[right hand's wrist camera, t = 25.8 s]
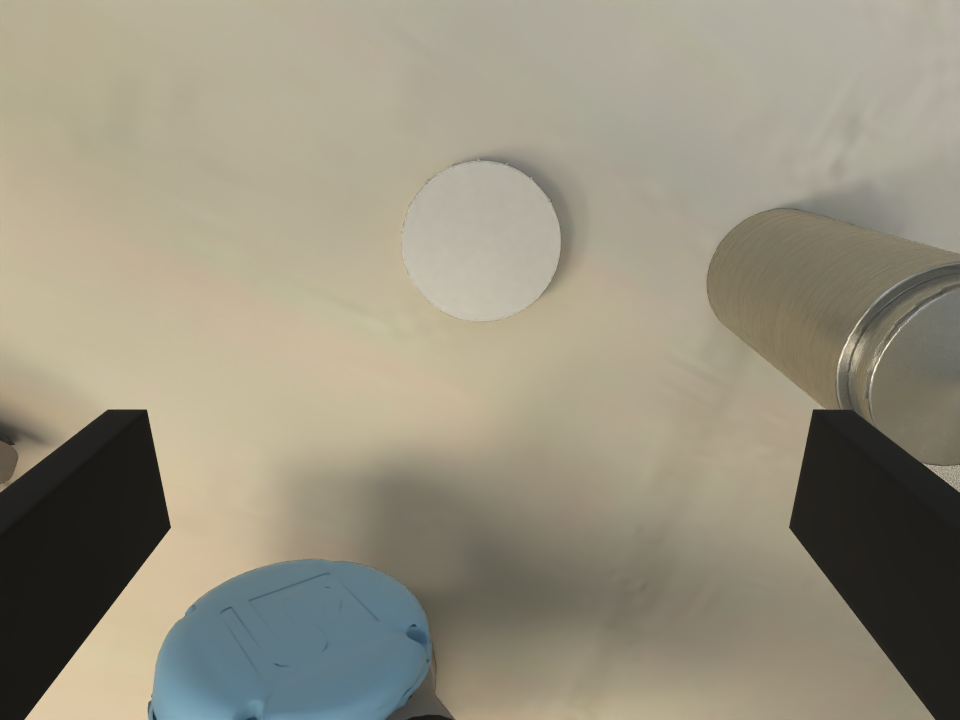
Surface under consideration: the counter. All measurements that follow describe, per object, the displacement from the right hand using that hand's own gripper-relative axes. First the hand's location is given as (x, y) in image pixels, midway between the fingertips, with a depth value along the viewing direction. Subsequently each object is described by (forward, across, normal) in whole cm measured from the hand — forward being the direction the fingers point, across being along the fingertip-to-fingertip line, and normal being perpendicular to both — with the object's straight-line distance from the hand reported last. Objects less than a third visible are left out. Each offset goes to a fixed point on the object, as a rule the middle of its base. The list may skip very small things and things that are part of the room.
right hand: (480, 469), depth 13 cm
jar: (+27, +18, -2) cm, 33 cm away
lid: (+26, 0, 0) cm, 26 cm away
